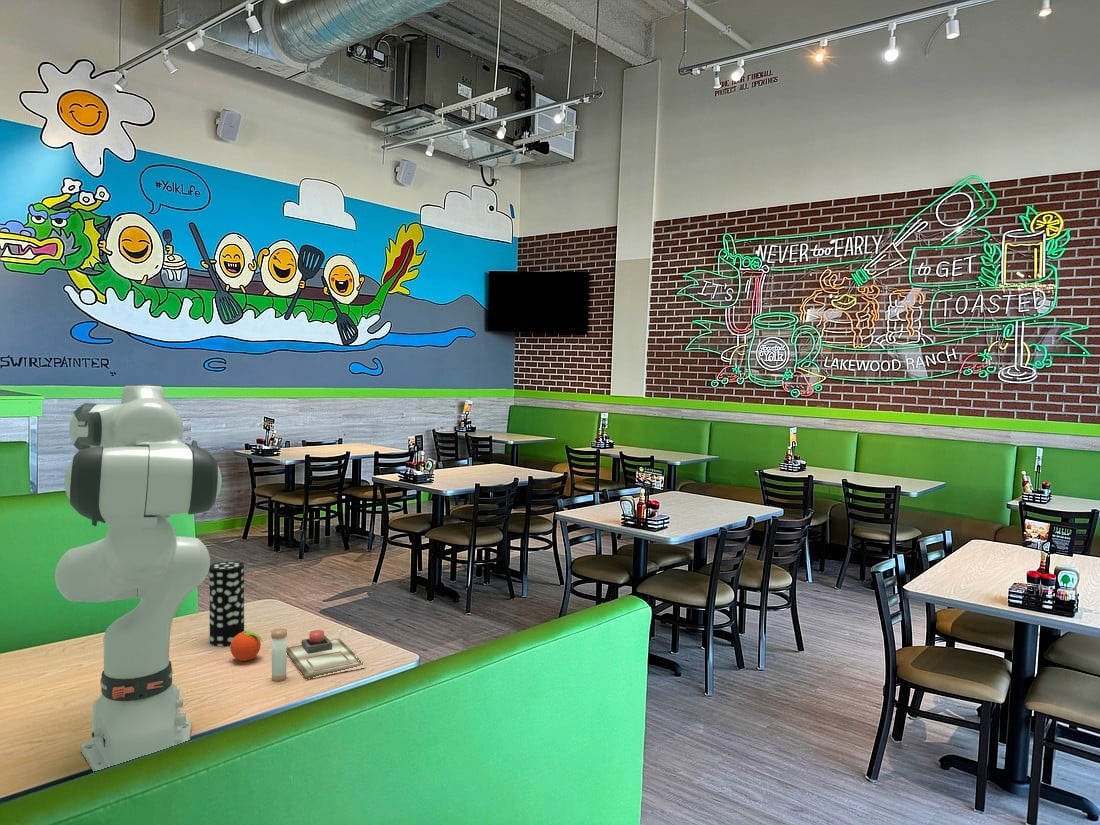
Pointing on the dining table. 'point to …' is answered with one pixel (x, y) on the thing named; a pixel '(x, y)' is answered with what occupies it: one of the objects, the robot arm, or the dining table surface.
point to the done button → (316, 636)
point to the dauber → (278, 654)
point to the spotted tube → (226, 601)
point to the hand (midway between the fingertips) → (142, 519)
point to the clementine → (245, 645)
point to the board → (322, 657)
